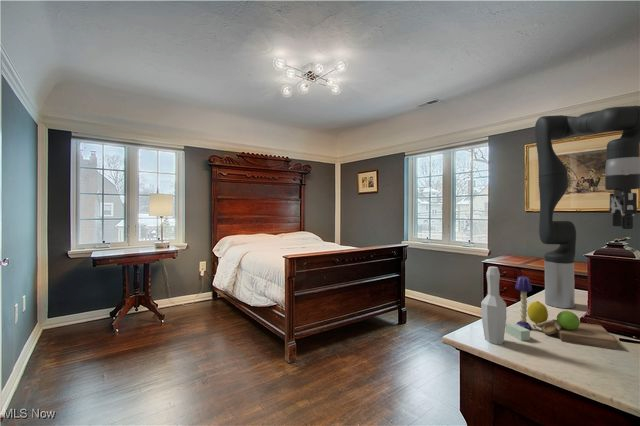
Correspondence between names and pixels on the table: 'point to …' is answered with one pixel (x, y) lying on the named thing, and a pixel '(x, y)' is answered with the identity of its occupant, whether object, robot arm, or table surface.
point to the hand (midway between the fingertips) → (622, 227)
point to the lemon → (537, 312)
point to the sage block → (518, 331)
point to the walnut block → (588, 336)
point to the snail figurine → (560, 323)
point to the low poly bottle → (493, 309)
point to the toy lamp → (523, 299)
